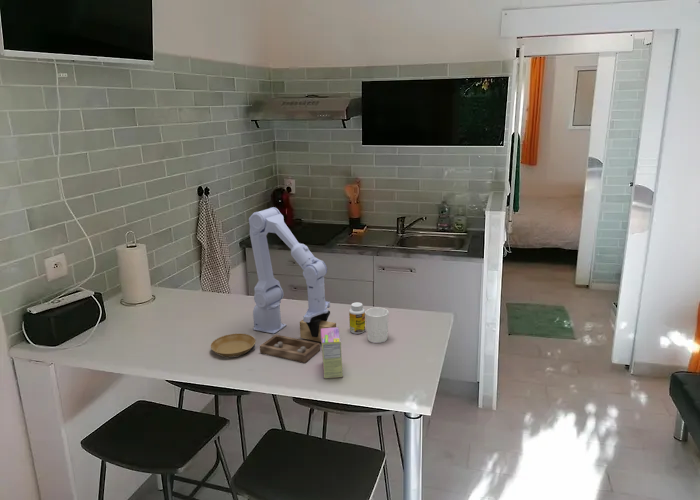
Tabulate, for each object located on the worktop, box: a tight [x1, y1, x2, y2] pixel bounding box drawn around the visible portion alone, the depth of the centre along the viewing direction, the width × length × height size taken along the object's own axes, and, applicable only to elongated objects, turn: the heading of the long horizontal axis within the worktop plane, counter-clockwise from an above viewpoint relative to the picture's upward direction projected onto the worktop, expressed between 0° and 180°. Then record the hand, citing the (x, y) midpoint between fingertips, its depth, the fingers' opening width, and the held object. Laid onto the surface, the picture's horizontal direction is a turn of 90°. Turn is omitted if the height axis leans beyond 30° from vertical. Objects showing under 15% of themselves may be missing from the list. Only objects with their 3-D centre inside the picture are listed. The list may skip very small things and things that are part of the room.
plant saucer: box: [210, 333, 257, 358], centre depth 180 cm, size 15×15×3 cm
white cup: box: [365, 307, 390, 344], centre depth 183 cm, size 8×8×10 cm
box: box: [320, 326, 343, 379], centre depth 163 cm, size 10×6×12 cm, turn 5°
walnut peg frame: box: [259, 334, 321, 364], centre depth 177 cm, size 17×9×3 cm, turn 63°
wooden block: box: [299, 319, 337, 343], centre depth 183 cm, size 12×4×6 cm, turn 63°
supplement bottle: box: [348, 302, 366, 335], centre depth 189 cm, size 6×6×10 cm
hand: (318, 333), depth 184 cm, fingers closed on wooden block, 4 cm apart
